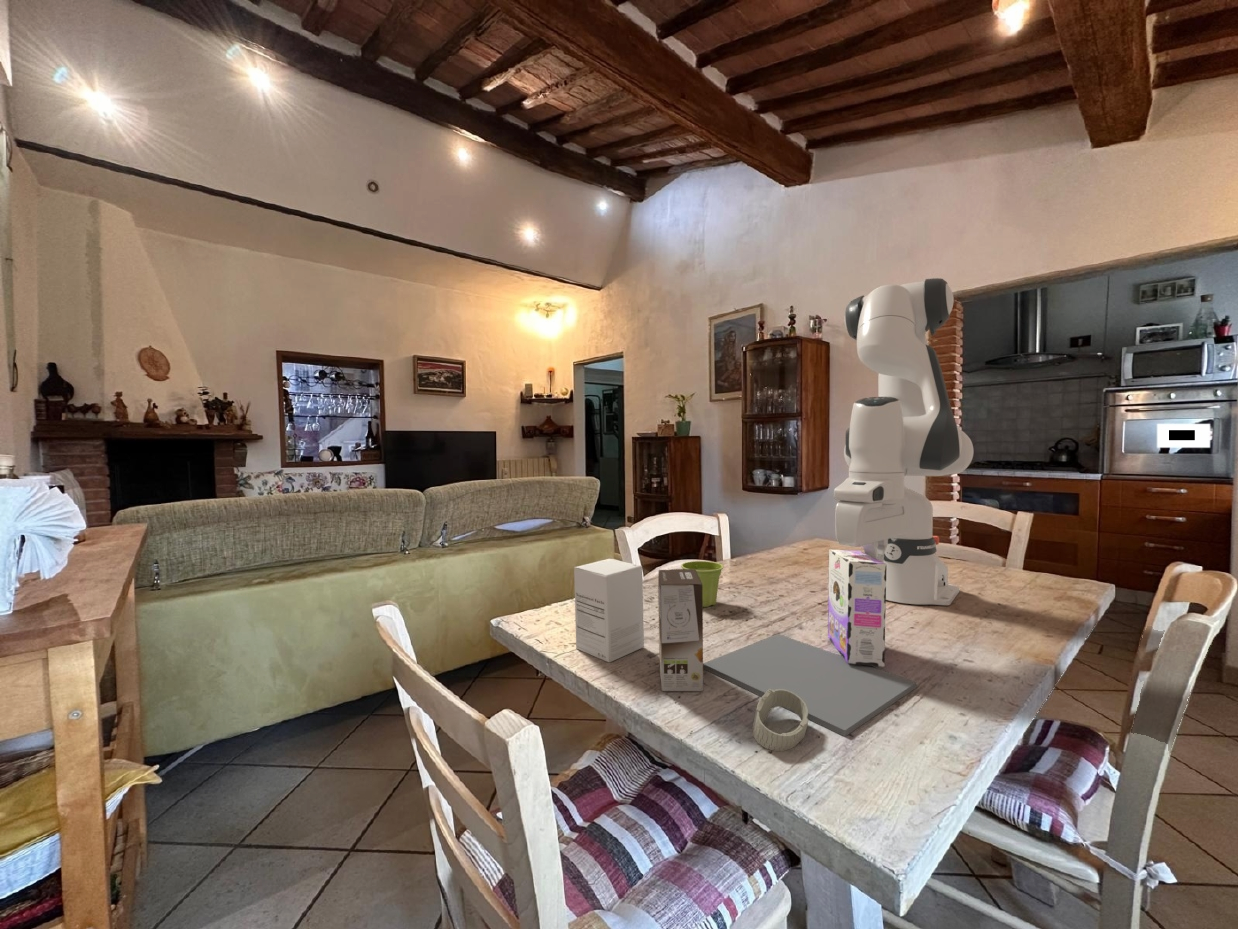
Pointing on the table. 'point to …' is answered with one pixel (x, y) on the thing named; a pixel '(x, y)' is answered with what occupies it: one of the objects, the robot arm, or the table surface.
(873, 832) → the table surface
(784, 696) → the beige ribbed ring
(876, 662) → the candy box
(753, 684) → the mat
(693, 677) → the coffee box
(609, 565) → the supplement box
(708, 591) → the plant pot
